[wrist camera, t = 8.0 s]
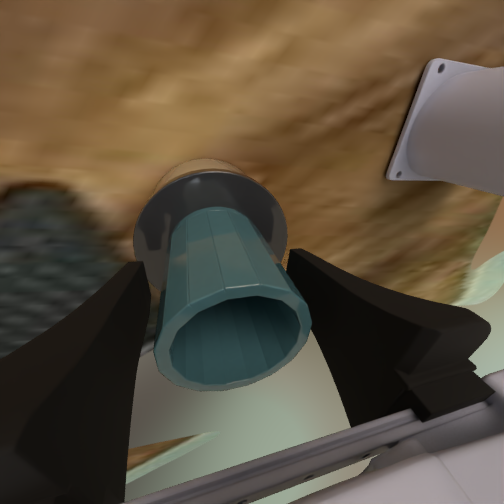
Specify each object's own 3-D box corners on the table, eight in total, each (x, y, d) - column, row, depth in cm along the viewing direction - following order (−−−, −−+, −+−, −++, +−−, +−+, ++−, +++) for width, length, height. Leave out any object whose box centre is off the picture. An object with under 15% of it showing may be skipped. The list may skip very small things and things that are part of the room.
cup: (263, 205, 12) (327, 276, 7) (256, 280, 15) (297, 373, 9) (161, 207, 11) (138, 298, 5) (173, 290, 13) (167, 405, 8)
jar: (269, 157, 16) (299, 172, 12) (259, 259, 20) (278, 296, 16) (134, 152, 13) (112, 169, 9) (157, 268, 18) (149, 314, 14)
